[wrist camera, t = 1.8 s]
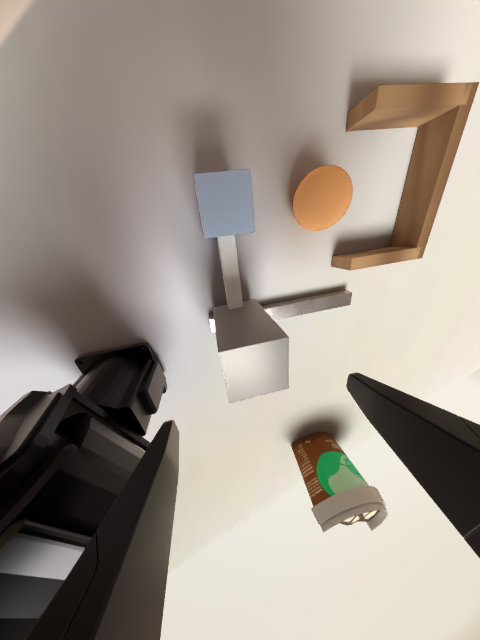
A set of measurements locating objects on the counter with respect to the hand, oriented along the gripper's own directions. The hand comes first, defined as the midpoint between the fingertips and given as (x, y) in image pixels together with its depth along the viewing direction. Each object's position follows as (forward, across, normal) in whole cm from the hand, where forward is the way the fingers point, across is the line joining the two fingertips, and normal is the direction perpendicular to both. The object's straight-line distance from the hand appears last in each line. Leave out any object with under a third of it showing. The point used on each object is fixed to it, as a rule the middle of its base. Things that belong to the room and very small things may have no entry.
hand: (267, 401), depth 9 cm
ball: (+8, -8, -9) cm, 14 cm away
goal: (+10, -15, -9) cm, 20 cm away
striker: (+10, 0, -4) cm, 11 cm away
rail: (+10, -5, 0) cm, 11 cm away
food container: (+10, -12, +27) cm, 31 cm away
